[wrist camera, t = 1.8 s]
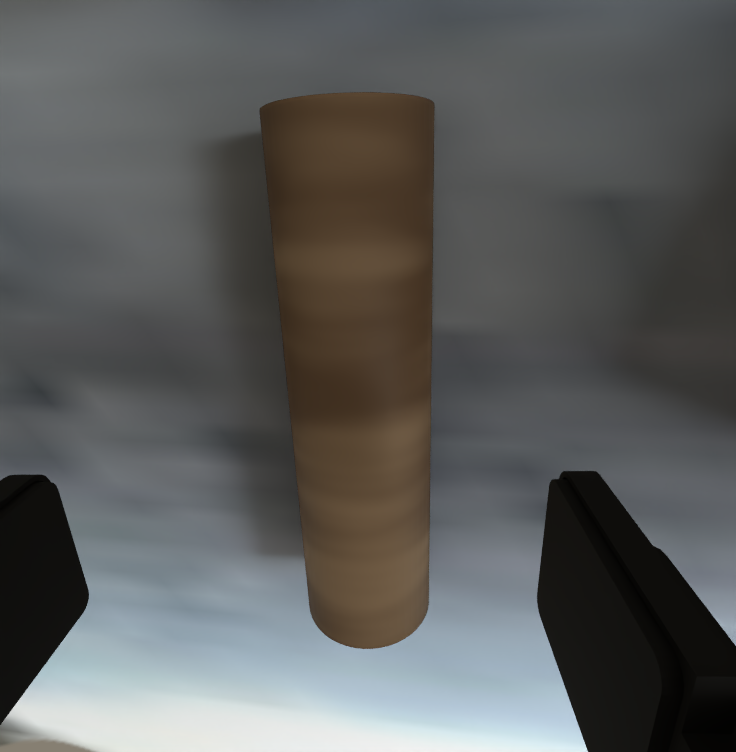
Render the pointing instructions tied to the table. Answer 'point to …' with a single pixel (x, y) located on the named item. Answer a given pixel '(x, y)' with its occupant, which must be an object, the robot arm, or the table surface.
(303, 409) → the brown cylinder
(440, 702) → the table surface
